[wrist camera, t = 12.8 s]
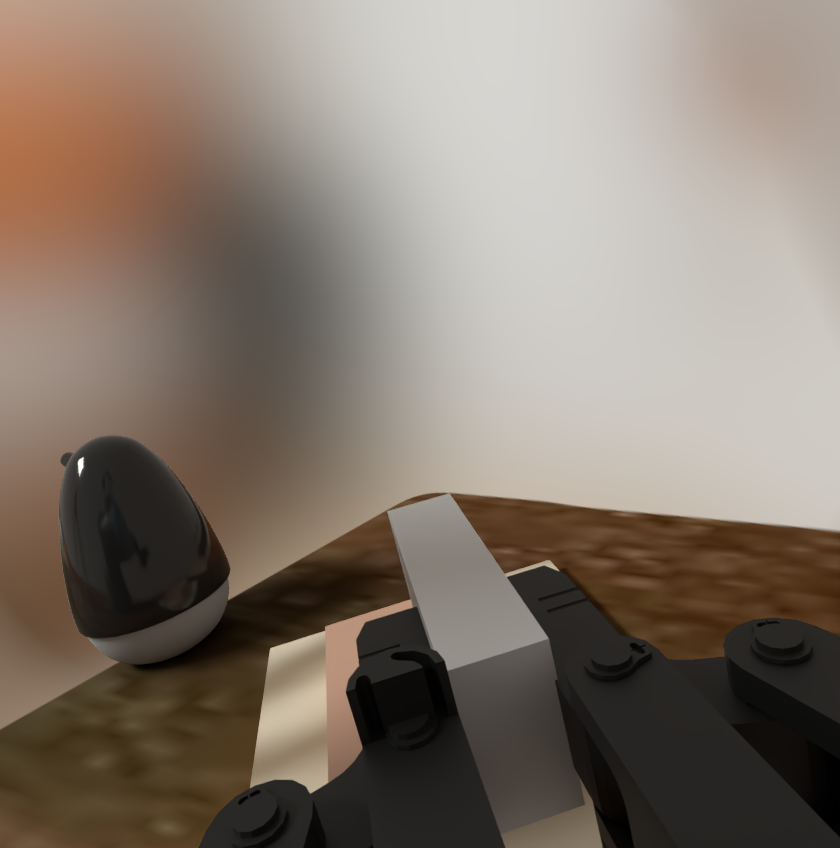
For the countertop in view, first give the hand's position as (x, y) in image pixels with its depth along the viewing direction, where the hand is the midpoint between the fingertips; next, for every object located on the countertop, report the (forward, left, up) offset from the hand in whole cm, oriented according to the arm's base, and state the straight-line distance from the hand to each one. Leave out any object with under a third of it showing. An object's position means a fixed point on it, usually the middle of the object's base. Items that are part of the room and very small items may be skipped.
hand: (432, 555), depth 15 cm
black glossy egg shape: (-26, +22, -13) cm, 37 cm away
